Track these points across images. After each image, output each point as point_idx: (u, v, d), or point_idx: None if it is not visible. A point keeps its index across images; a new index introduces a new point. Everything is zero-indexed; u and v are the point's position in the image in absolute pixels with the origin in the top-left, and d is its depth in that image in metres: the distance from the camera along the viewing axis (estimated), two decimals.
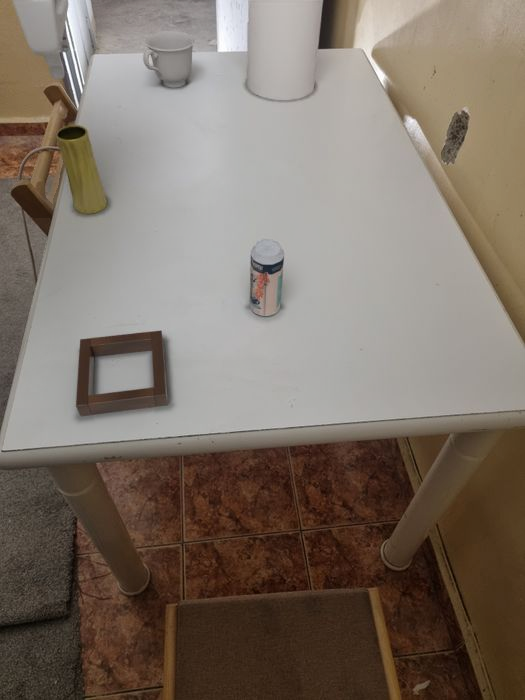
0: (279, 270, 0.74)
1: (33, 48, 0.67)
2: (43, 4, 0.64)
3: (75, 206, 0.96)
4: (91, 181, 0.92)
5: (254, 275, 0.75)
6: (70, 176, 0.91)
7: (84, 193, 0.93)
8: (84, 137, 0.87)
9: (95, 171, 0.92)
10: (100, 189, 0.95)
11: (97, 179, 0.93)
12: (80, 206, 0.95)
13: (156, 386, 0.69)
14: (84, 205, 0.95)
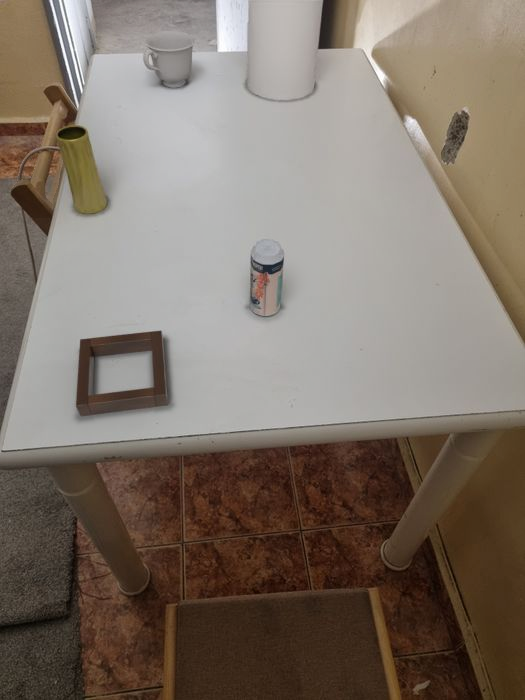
0: (279, 270, 0.74)
1: None
2: None
3: (75, 206, 0.96)
4: (91, 181, 0.92)
5: (254, 275, 0.75)
6: (70, 176, 0.91)
7: (84, 193, 0.93)
8: (84, 137, 0.87)
9: (95, 171, 0.92)
10: (100, 189, 0.95)
11: (97, 179, 0.93)
12: (80, 206, 0.95)
13: (156, 386, 0.69)
14: (84, 205, 0.95)
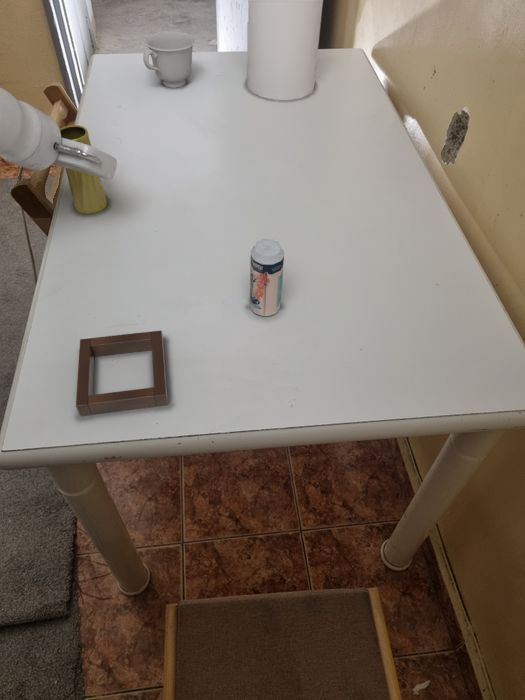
0: (279, 270, 0.74)
1: None
2: None
3: (75, 206, 0.96)
4: (91, 181, 0.92)
5: (254, 275, 0.75)
6: (70, 176, 0.91)
7: (84, 193, 0.93)
8: (84, 137, 0.87)
9: None
10: (100, 189, 0.95)
11: (97, 179, 0.93)
12: (80, 206, 0.95)
13: (156, 386, 0.69)
14: (84, 205, 0.95)
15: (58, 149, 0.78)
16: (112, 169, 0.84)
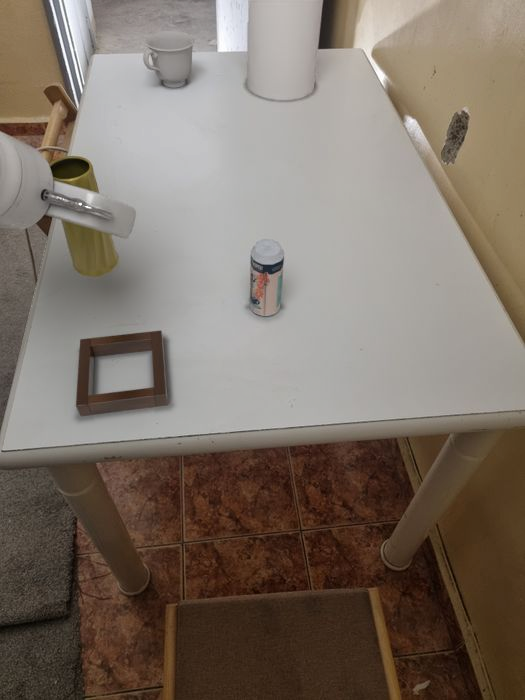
0: (279, 270, 0.74)
1: None
2: None
3: (74, 266, 0.69)
4: (97, 234, 0.65)
5: (254, 275, 0.75)
6: (67, 228, 0.63)
7: (87, 250, 0.66)
8: (87, 174, 0.59)
9: None
10: (109, 243, 0.67)
11: None
12: (81, 267, 0.68)
13: (156, 386, 0.69)
14: (87, 266, 0.67)
15: (48, 200, 0.51)
16: (129, 224, 0.57)
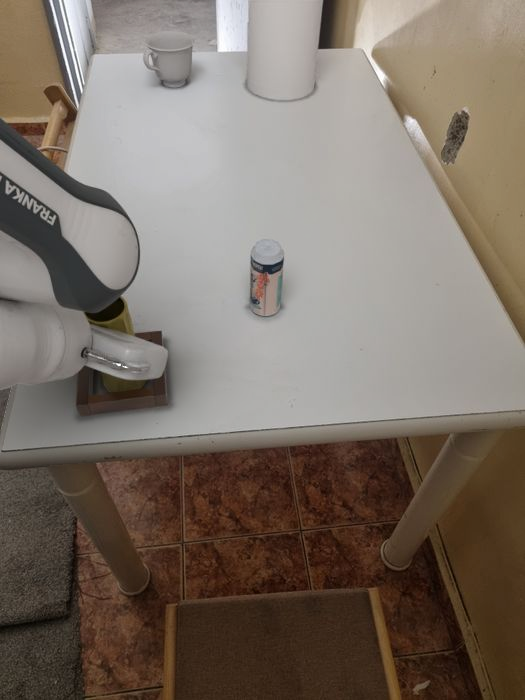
0: (279, 270, 0.74)
1: None
2: None
3: (105, 385, 0.71)
4: None
5: (254, 275, 0.75)
6: None
7: None
8: (123, 315, 0.61)
9: None
10: None
11: None
12: (112, 387, 0.70)
13: (156, 386, 0.69)
14: (118, 387, 0.69)
15: (88, 358, 0.53)
16: (162, 366, 0.59)
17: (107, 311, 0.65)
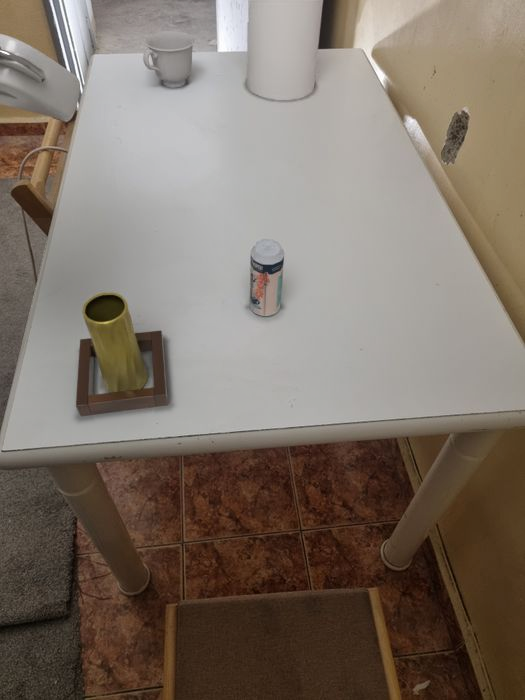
0: (279, 270, 0.74)
1: None
2: None
3: (105, 384, 0.71)
4: (129, 361, 0.67)
5: (254, 275, 0.75)
6: (101, 357, 0.65)
7: (119, 375, 0.67)
8: (123, 315, 0.61)
9: (135, 348, 0.66)
10: (140, 365, 0.69)
11: (137, 355, 0.68)
12: (112, 387, 0.70)
13: (156, 386, 0.69)
14: (118, 387, 0.69)
15: None
16: (71, 98, 0.43)
17: (107, 311, 0.65)
